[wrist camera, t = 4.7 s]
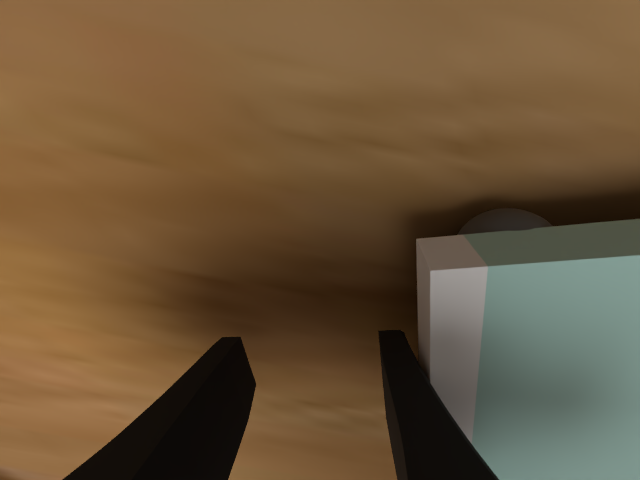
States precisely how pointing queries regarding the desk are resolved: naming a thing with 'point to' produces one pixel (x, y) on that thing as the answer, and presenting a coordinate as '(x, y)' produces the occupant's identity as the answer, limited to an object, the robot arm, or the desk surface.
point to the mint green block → (536, 342)
